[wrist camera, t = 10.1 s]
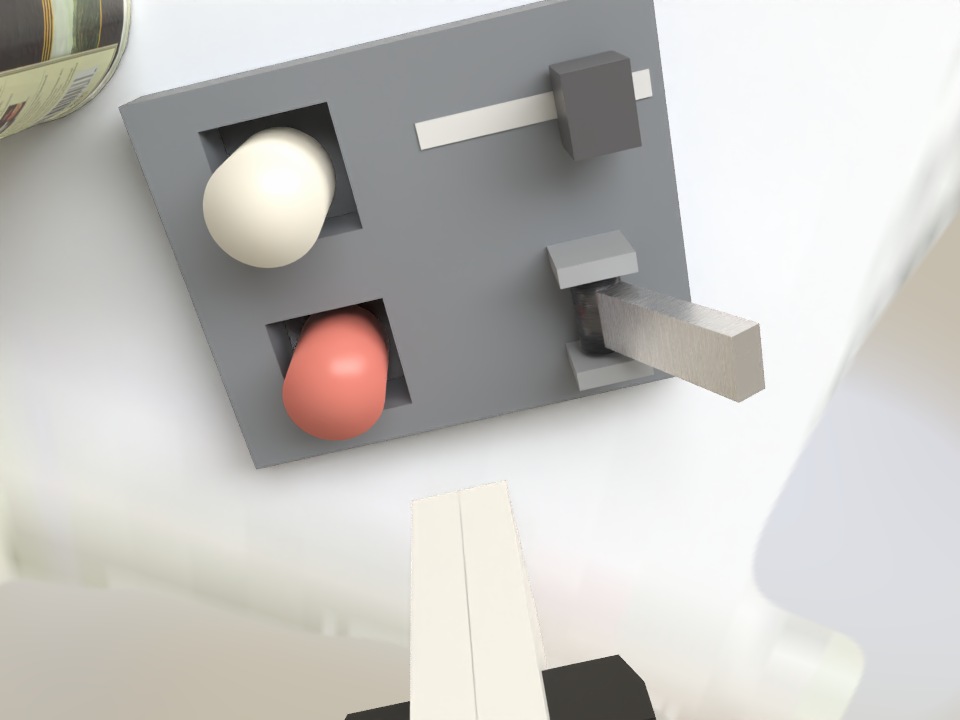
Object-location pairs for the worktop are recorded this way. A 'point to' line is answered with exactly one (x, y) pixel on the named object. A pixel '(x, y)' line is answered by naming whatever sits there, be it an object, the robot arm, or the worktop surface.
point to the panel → (433, 217)
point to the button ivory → (270, 197)
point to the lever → (671, 336)
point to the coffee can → (56, 56)
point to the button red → (338, 374)
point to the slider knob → (596, 105)
